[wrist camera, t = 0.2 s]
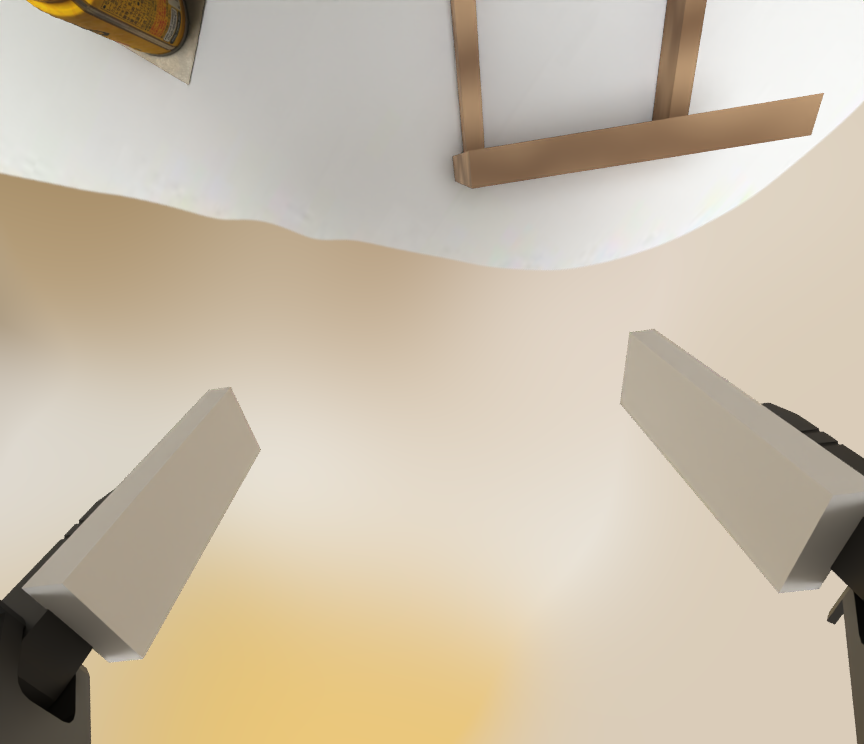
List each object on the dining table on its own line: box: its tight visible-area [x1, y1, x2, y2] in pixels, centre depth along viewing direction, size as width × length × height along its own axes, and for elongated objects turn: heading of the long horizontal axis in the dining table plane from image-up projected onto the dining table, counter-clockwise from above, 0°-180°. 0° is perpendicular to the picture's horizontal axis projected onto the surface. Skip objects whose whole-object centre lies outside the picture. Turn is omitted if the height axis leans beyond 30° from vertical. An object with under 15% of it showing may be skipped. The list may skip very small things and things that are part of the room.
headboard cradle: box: [451, 0, 824, 189], centre depth 24 cm, size 18×20×13 cm
